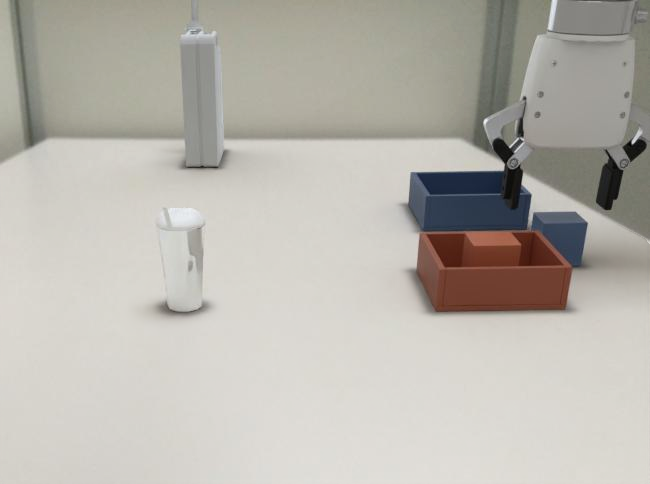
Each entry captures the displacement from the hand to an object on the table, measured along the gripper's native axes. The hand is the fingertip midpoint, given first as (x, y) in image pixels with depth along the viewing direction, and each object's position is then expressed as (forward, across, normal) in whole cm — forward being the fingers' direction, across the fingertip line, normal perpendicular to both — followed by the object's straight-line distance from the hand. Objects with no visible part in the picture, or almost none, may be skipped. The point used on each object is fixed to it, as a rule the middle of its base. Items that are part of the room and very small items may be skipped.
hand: (556, 206), depth 100 cm
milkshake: (+6, +38, +13) cm, 41 cm away
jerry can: (+7, +38, -55) cm, 67 cm away
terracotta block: (+5, +8, +9) cm, 13 cm away
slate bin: (+6, +5, -18) cm, 20 cm away
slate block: (+6, -1, 0) cm, 6 cm away
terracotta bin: (+6, +8, +9) cm, 14 cm away
